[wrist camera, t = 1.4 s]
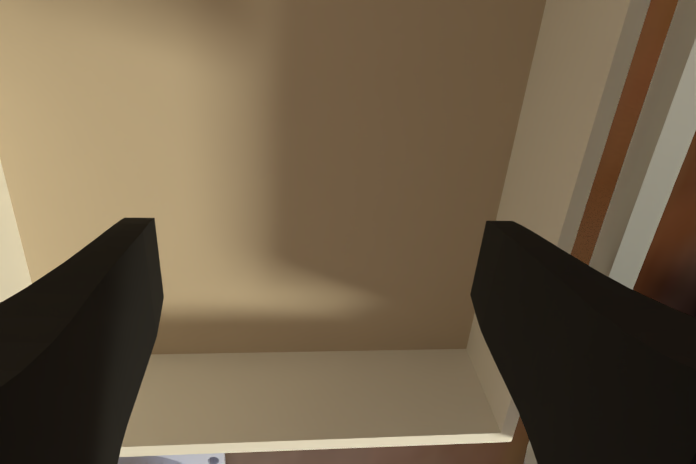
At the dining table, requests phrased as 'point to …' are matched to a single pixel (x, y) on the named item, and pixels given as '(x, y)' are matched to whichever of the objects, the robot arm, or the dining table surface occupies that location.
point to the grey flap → (650, 158)
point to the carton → (306, 194)
